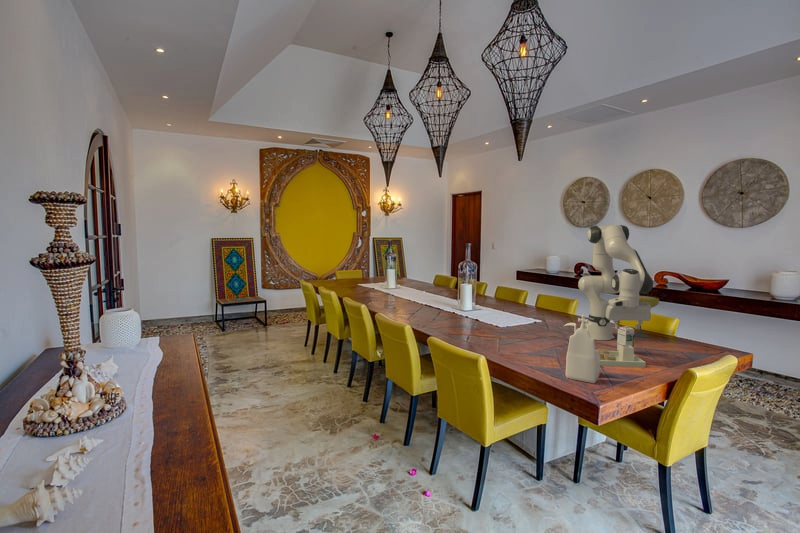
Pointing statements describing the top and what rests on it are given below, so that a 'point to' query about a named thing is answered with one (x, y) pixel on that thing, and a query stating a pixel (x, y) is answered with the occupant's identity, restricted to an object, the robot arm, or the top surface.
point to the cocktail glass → (653, 302)
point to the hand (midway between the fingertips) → (627, 328)
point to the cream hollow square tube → (626, 353)
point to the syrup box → (625, 336)
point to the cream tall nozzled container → (582, 355)
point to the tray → (635, 363)
